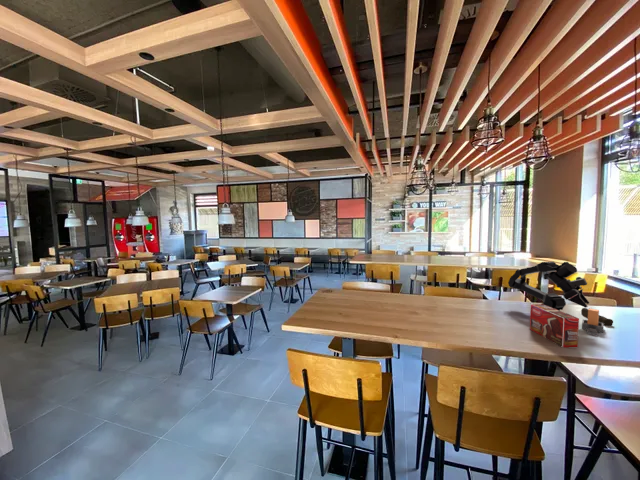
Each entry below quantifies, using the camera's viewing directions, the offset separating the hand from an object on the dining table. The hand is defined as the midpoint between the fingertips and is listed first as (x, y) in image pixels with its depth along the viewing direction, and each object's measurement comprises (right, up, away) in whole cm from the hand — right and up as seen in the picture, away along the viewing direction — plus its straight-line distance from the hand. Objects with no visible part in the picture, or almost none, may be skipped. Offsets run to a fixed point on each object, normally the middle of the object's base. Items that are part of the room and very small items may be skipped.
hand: (587, 305), depth 139 cm
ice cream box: (-29, -13, -12) cm, 34 cm away
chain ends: (+1, -12, -1) cm, 12 cm away
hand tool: (+15, -11, +11) cm, 22 cm away
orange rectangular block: (+1, -12, -1) cm, 12 cm away
